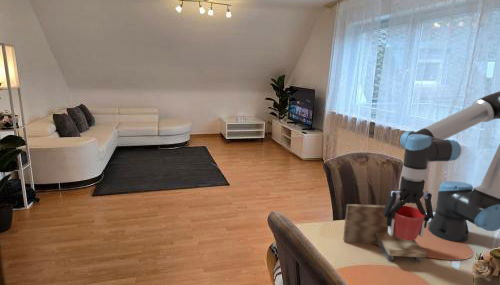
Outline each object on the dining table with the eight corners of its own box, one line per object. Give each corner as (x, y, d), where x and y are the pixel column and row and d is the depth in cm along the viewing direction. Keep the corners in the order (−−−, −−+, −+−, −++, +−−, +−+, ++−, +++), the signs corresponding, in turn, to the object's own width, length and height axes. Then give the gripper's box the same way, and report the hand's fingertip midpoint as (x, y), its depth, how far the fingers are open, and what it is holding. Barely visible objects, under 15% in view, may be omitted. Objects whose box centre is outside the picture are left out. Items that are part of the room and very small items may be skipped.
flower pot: (425, 244, 112) (429, 219, 110) (392, 240, 114) (396, 216, 112) (416, 230, 122) (420, 206, 120) (386, 226, 124) (389, 203, 122)
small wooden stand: (407, 245, 129) (409, 231, 128) (424, 265, 115) (427, 251, 114) (375, 243, 130) (376, 230, 128) (388, 264, 116) (390, 249, 115)
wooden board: (406, 242, 131) (412, 206, 127) (408, 245, 129) (414, 208, 125) (343, 239, 132) (346, 203, 128) (344, 242, 130) (348, 206, 126)
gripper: (440, 175, 116) (430, 230, 121) (377, 173, 117) (370, 228, 122) (451, 182, 109) (441, 241, 114) (384, 180, 110) (377, 238, 115)
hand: (404, 234), depth 118 cm, fingers closed on flower pot, 10 cm apart
